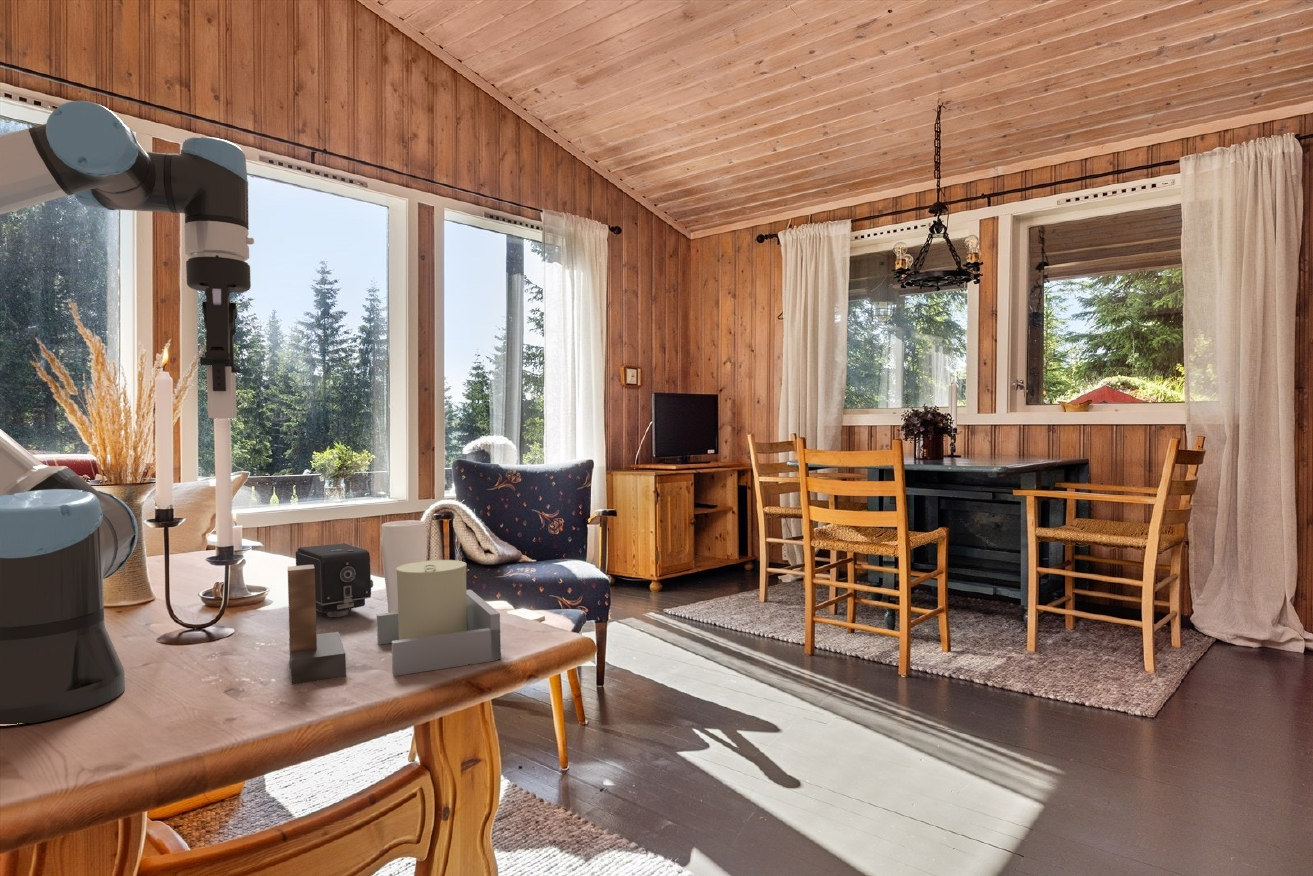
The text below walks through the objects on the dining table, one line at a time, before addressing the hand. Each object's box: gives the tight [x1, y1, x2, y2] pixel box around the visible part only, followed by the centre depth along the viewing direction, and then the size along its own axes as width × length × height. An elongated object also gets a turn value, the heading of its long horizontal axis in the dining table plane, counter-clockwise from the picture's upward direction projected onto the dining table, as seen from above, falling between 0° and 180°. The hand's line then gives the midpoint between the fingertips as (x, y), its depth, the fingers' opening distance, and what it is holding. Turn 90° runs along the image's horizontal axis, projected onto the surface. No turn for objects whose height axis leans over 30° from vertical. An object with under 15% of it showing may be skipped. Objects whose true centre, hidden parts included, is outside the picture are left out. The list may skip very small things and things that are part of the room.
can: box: [396, 559, 468, 640], centre depth 106 cm, size 9×9×12 cm
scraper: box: [287, 564, 347, 686], centre depth 99 cm, size 6×11×13 cm, turn 26°
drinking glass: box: [380, 519, 428, 613], centre depth 124 cm, size 7×7×15 cm
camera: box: [295, 543, 374, 618], centre depth 129 cm, size 11×11×15 cm
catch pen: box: [376, 589, 502, 677], centre depth 106 cm, size 13×16×6 cm
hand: (223, 418), depth 106 cm, fingers open, 13 cm apart
